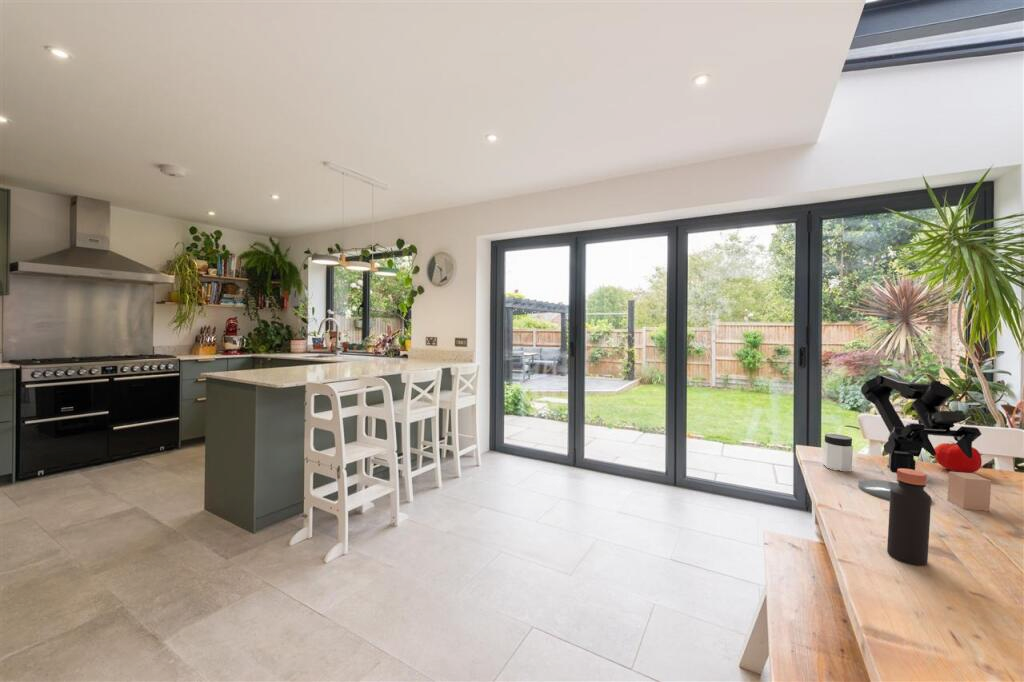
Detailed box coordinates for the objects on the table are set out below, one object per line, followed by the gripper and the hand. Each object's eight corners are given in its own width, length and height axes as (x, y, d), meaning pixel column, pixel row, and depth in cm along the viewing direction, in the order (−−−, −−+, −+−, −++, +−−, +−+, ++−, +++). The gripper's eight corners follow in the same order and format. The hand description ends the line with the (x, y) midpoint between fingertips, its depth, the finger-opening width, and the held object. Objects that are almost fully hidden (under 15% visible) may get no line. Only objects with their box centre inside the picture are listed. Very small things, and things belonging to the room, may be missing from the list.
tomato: (987, 479, 148) (989, 450, 148) (938, 472, 155) (940, 444, 154) (972, 469, 160) (973, 441, 159) (927, 462, 166) (929, 436, 166)
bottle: (914, 568, 92) (919, 478, 91) (879, 552, 99) (884, 468, 98) (935, 563, 94) (940, 475, 93) (899, 548, 101) (904, 465, 100)
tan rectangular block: (947, 500, 130) (948, 471, 129) (971, 502, 128) (973, 473, 128) (963, 508, 124) (964, 478, 123) (989, 511, 122) (991, 480, 122)
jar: (854, 469, 157) (856, 437, 157) (848, 473, 152) (850, 440, 152) (825, 462, 164) (827, 432, 164) (819, 466, 159) (820, 435, 158)
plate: (863, 495, 132) (863, 492, 132) (853, 479, 146) (854, 475, 146) (938, 509, 123) (938, 505, 123) (920, 489, 138) (920, 486, 138)
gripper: (908, 398, 139) (930, 440, 129) (978, 402, 134) (1007, 446, 124) (892, 417, 147) (911, 458, 137) (957, 421, 142) (983, 464, 132)
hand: (952, 456), depth 132 cm, fingers open, 9 cm apart
